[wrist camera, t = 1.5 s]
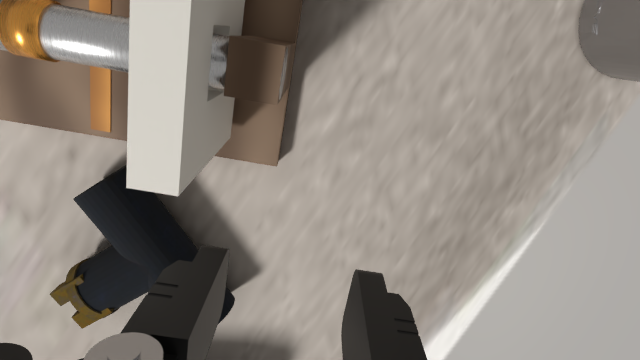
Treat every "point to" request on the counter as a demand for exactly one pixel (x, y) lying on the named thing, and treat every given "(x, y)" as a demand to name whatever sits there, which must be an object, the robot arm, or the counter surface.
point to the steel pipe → (85, 37)
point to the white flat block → (175, 91)
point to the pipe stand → (112, 86)
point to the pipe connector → (124, 250)
